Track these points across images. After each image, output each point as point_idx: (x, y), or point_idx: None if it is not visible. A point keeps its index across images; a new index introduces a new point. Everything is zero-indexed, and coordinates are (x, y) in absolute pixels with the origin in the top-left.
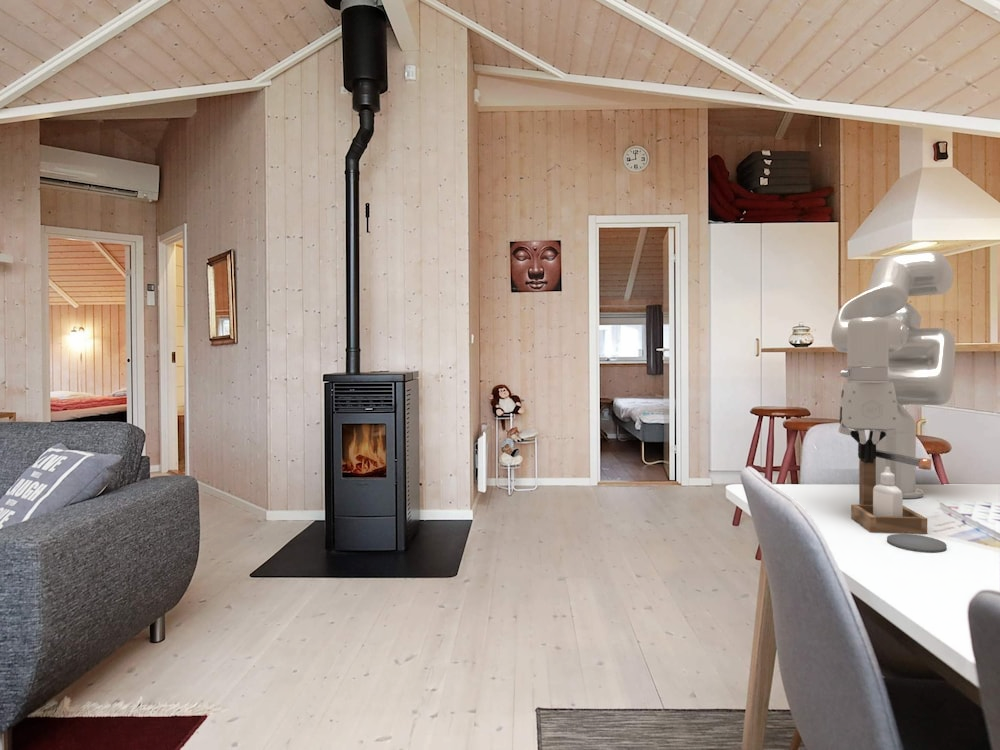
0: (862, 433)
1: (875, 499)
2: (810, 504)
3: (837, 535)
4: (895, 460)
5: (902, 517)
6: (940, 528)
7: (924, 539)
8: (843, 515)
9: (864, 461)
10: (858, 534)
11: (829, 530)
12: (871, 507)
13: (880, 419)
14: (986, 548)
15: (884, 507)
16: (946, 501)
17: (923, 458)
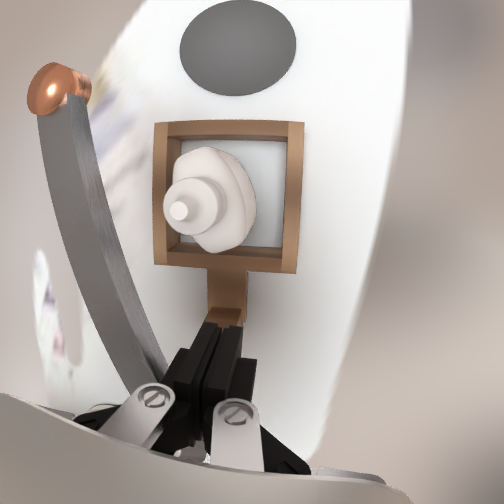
0: (232, 461)
1: (249, 211)
2: (331, 382)
3: (388, 106)
4: (118, 246)
5: (213, 125)
6: (120, 184)
7: (210, 57)
8: (300, 291)
9: (241, 342)
10: (337, 112)
11: (393, 146)
12: (244, 254)
13: (31, 493)
14: (115, 53)
15: (239, 172)
16: (62, 381)
17: (39, 110)
